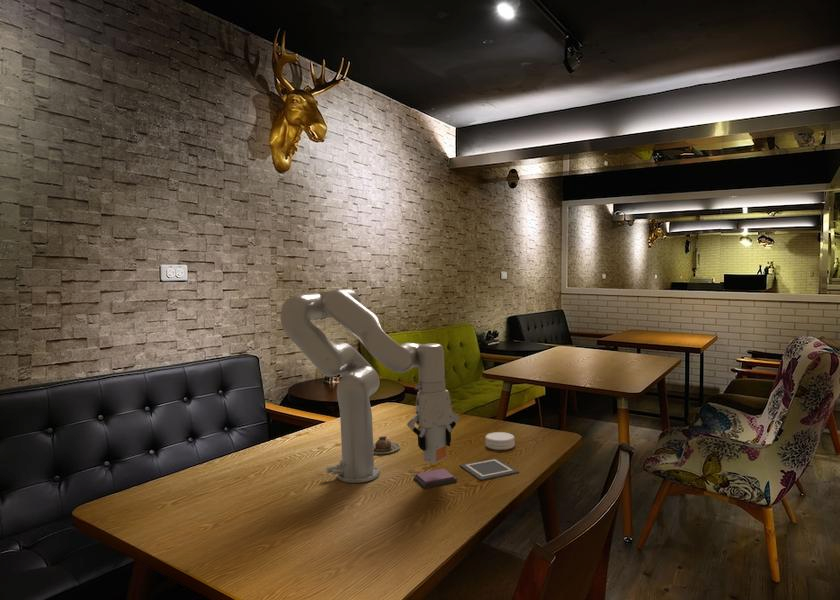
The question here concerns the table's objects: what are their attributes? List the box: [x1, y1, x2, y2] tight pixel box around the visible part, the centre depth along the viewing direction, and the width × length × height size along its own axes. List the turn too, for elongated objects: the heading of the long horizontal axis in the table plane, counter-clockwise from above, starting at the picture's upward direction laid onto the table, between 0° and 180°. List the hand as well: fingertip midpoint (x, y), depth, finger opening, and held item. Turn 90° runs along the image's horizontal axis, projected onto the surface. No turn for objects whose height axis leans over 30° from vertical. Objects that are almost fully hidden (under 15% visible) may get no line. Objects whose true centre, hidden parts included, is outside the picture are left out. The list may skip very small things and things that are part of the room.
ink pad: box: [413, 468, 458, 489], centre depth 155 cm, size 10×8×2 cm
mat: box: [459, 458, 520, 482], centre depth 162 cm, size 13×13×1 cm
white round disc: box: [485, 431, 516, 451], centre depth 184 cm, size 10×10×4 cm
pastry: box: [373, 435, 401, 456], centre depth 184 cm, size 12×12×5 cm
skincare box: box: [423, 422, 448, 465], centre depth 154 cm, size 6×4×12 cm
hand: (434, 446), depth 155 cm, fingers closed on skincare box, 7 cm apart
